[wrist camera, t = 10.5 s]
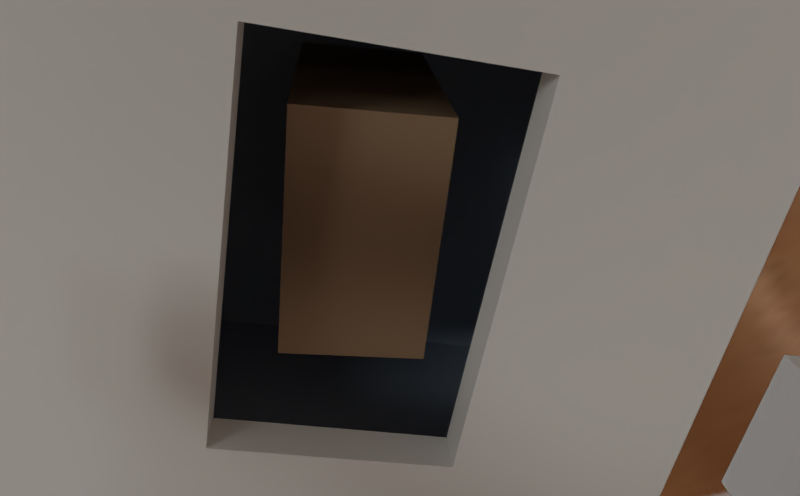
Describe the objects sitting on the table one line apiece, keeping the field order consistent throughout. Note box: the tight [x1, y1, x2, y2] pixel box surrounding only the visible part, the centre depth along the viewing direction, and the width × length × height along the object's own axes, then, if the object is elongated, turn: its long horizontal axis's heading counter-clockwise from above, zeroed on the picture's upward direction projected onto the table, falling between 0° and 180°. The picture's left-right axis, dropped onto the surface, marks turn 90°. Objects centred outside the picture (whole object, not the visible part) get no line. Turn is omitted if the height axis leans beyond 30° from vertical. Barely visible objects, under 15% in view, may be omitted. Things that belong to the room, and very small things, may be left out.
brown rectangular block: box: [278, 42, 459, 359], centre depth 19 cm, size 6×4×7 cm, turn 174°
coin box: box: [0, 0, 800, 496], centre depth 18 cm, size 16×16×10 cm
